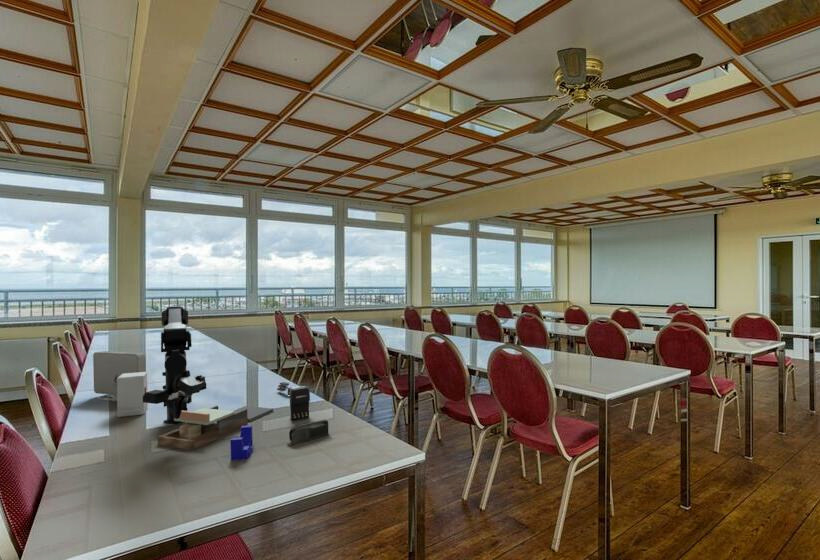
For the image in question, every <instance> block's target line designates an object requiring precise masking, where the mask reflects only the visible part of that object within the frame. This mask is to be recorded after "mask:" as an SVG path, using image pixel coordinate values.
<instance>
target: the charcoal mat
mask: <svg viewBox="0 0 820 560" xmlns="http://www.w3.org/2000/svg"><path fill="white" fill-rule="evenodd" d="M244 409H247V422H248V421H249V422H253V421H256V420H257V419H259V418H261V416H262V417H263V415H264V416H266V415H268V414H270V413H269V412H271V411H273V412H274V408H271V407H262V406H261V407H259V406H254V405H253V406H251V405H245V406H242V407H239V408H238V409H235V410H233V411H235V413H236V412H239V411H241V410H244ZM267 413H268V414H267ZM271 413H272V412H271ZM265 414H266V415H265Z"/></svg>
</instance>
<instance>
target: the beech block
mask: <svg viewBox="0 0 820 560" xmlns="http://www.w3.org/2000/svg"><path fill="white" fill-rule="evenodd" d="M178 429H179V432H180V438H181V439H188V440H190V439H192V438H195V437H197V436H200V435H201V424H195V423H187V422H186V424H182V425H180V426H179V428H178Z"/></svg>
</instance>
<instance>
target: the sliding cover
mask: <svg viewBox="0 0 820 560" xmlns="http://www.w3.org/2000/svg"><path fill="white" fill-rule="evenodd" d="M209 408H210V407H209ZM209 408H207V407H201V408H199V409H196V410H193V411H192V410H191V411H190V410H187V411H183V410H182V411H181V414H180V417H179V418H178V419H175V418H174V421H180V423H187V422H188V423H195V424H203V425H209V424H211V423H214V422H216V421H219V420H221V419H223V418H226V417H228V416H231V415H233V414H235V411H234V410H224V409H218V410H217V409H209Z"/></svg>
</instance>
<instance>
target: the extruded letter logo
mask: <svg viewBox="0 0 820 560" xmlns="http://www.w3.org/2000/svg"><path fill="white" fill-rule="evenodd" d="M289 386H290V382H289V383H288V382H284V381H283V382H279V385H278V386H277V388H276V390H277V391H279V392H285V391H287V396H288V395H290V390H291V389H292V388H293V387H291V386H290V387H289Z"/></svg>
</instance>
